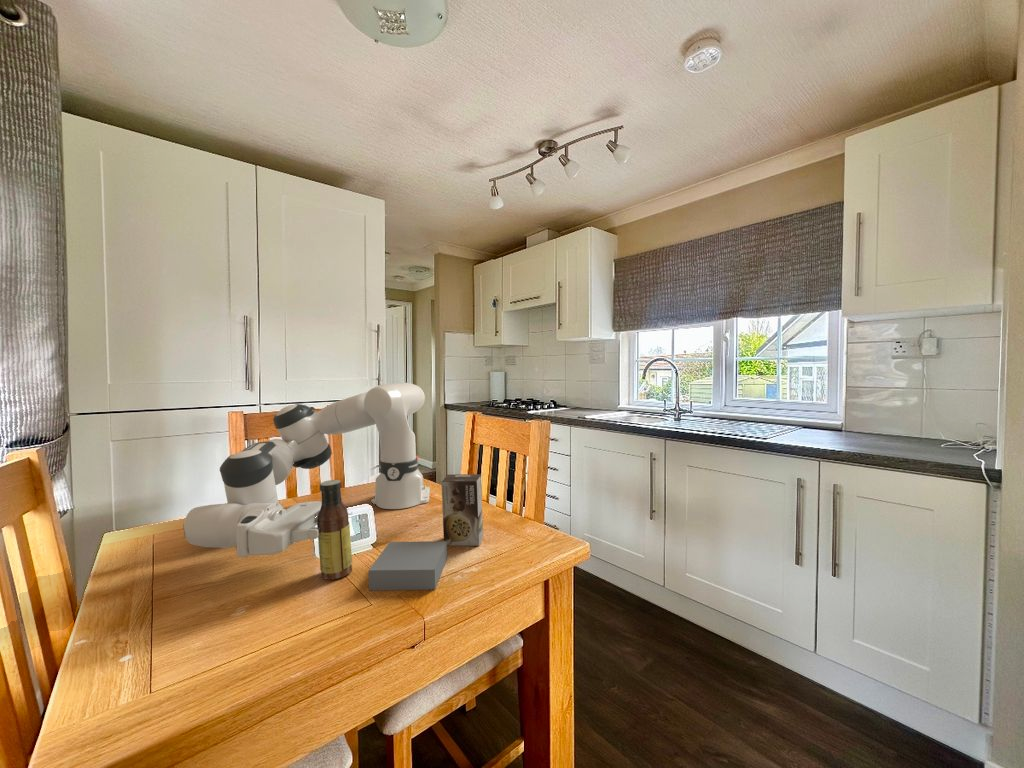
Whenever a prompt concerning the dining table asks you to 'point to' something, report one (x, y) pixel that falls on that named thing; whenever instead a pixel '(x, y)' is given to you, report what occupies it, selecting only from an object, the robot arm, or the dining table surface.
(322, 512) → the sauce bottle
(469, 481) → the coffee box
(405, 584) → the stand
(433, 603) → the dining table surface
